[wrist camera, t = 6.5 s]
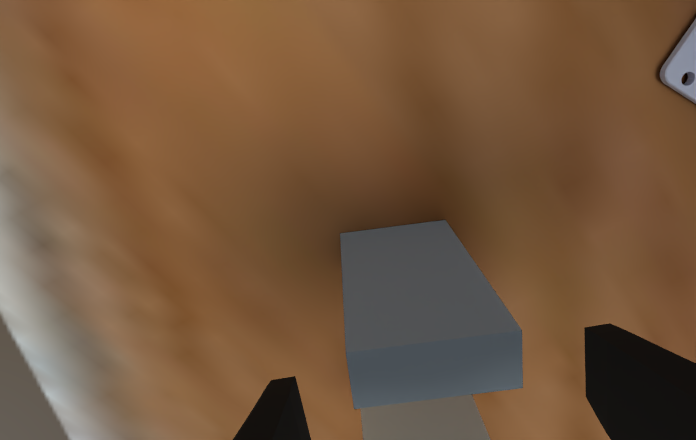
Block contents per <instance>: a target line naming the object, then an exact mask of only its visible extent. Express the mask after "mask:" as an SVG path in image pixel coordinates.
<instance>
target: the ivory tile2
mask: <svg viewBox="0 0 696 440" xmlns="http://www.w3.org/2000/svg"><path fill="white" fill-rule="evenodd" d="M361 419H362V431H363V440H490V437H489V435H488V432H487V430H486V428H485V425H484V423H483V420H482V418H481V416H480V413H479V411H478V408H477V406H476V403H475V401H474V399H473V396H472V394H470V395H463V396H455V397H447V398H439V399H431V400H423V401H415V402H407V403H399V404H391V405H383V406H375V407H367V408H361Z"/></svg>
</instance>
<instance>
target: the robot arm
mask: <svg viewBox="0 0 696 440" xmlns="http://www.w3.org/2000/svg"><path fill="white" fill-rule="evenodd" d="M685 73H687V74H688V79H687V81H686V82H685V83H684V84H682V80H681V79H682V76H683V75H684V74H685ZM660 78H661V81H662V82H663V83H664V84H666V85H667V86H669V87H670V88H672V89H673V90H675V91H676V92H678V93H680V94H681V95H683V96H684V97H686V98H687V99H689V100H691V101H692V102H694V103H695V104H696V19H695V20H694V22H693V23H692V25H691V26H690V27H689V29H688V30H687V32H686V33H685V35H684V36H683V37H682V39H681V40H680V42H679V43H678V45H677V46H676V47H675V49H674V50H673V52H672V53H671V55H670V56H669V58H668V59H667V60H666V62H665V63H664V65H663V66H662V68H661V70H660ZM585 372H586V397H587V399H588V401H589V403H590V405H591V407H592V408H593V410H594V412H595V414H596V416H597V418H598V419H599V421H600V423H601V424H602V426H603V428H604V429H605V431H606V433H607V435H608V436H609V437H610V439H611V440H696V363H694V362H692V361H689V360H687V359H685V358H683V357H681V356H679V355H676V354H674V353H672V352H670V351H668V350H666V349H664V348H662V347H660V346H658V345H655V344H653V343H651V342H649V341H647V340H645V339H643V338H641V337H639V336H637V335H635V334H632V333H630V332H628V331H626V330H624V329H621V328H619V327H617V326H614V325H612V324H604V325H598V326H592V327H586V328H585ZM233 440H311V438H310V434H309V430H308V426H307V422H306V418H305V414H304V410H303V406H302V402H301V398H300V394H299V390H298V386H297V382H296V378H295V376H294V377H288V378H282V379H276V380H271V381H270V383H269V384H268V385H267V387H266V389H265V390H264V392H263V393H262V395H261V397H260V398H259V400H258V402H257V403H256V405H255V406H254V408H253V410H252V411H251V413H250V414H249V416H248V418H247V419H246V421H245V422H244V424H243V425H242V427H241V428H240V430H239V431H238V433H237V434H236V436H235V437H234V439H233Z"/></svg>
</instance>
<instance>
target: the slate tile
mask: <svg viewBox="0 0 696 440" xmlns="http://www.w3.org/2000/svg"><path fill="white" fill-rule="evenodd" d="M340 241H341V262H342V283H343V304H344V324H345V345H346V357H347V364H348V370H349V377H350V384H351V391H352V398H353V404H354V409H359V408H367V407H375V406H383V405H391V404H399V403H407V402H415V401H423V400H431V399H439V398H447V397H455V396H463V395H470V394H478V393H486V392H494V391H502V390H510V389H518V388H523V374H522V330H521V328H520V327H519V325H518V324H517V322H516V321H515V320H514V318H513V317H512V315H511V314H510V312H509V311H508V309H507V308H506V307H505V305H504V304H503V302H502V301H501V299H500V298H499V296H498V295H497V294H496V292H495V291H494V289H493V288H492V286H491V285H490V283H489V282H488V281H487V279H486V278H485V276H484V275H483V273H482V272H481V271H480V269H479V268H478V266H477V265H476V263H475V262H474V260H473V259H472V258H471V256H470V255H469V253H468V252H467V250H466V249H465V247H464V246H463V245H462V243H461V242H460V240H459V239H458V237H457V236H456V234H455V233H454V232H453V230H452V229H451V227H450V226H449V224H448V223H447V221H446V220H440V221H432V222H425V223H417V224H409V225H401V226H394V227H386V228H378V229H370V230H363V231H355V232H347V233H340Z"/></svg>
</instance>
